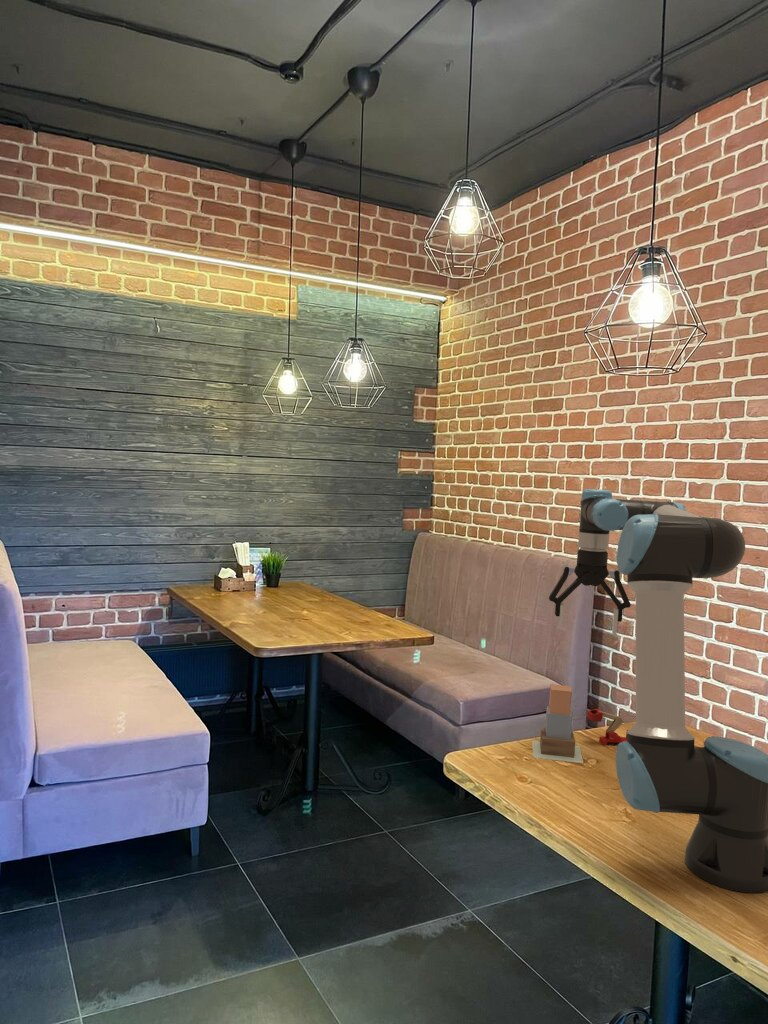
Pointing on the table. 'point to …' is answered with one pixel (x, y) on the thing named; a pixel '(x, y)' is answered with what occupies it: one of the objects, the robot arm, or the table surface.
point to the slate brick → (558, 725)
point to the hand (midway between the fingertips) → (587, 631)
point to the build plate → (538, 754)
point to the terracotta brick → (560, 699)
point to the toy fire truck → (610, 736)
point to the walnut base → (557, 745)
